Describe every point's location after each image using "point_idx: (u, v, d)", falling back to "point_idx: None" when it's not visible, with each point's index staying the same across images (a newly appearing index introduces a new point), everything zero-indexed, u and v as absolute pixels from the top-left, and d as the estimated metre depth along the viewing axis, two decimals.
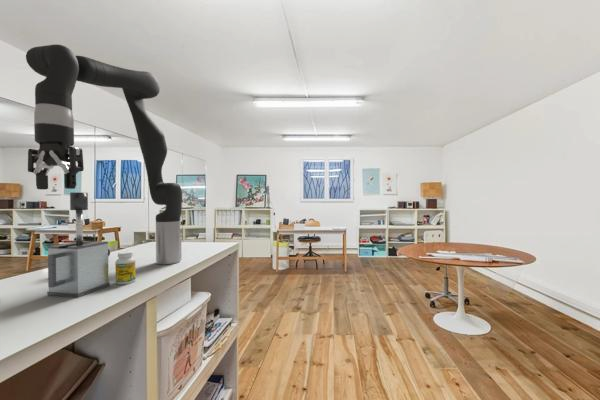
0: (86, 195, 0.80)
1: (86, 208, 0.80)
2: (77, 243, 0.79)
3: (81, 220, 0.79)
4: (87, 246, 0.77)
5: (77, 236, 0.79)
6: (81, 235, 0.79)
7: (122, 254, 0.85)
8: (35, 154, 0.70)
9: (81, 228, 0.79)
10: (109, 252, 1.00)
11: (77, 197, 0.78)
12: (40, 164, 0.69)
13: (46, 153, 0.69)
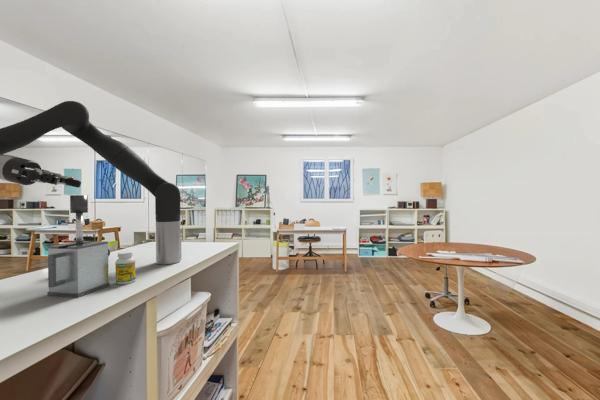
0: (86, 198, 0.80)
1: (86, 211, 0.80)
2: None
3: (81, 223, 0.79)
4: (87, 246, 0.77)
5: (77, 239, 0.79)
6: (81, 238, 0.79)
7: (122, 254, 0.85)
8: None
9: (81, 231, 0.79)
10: (109, 252, 1.00)
11: (77, 199, 0.78)
12: None
13: (39, 180, 0.82)
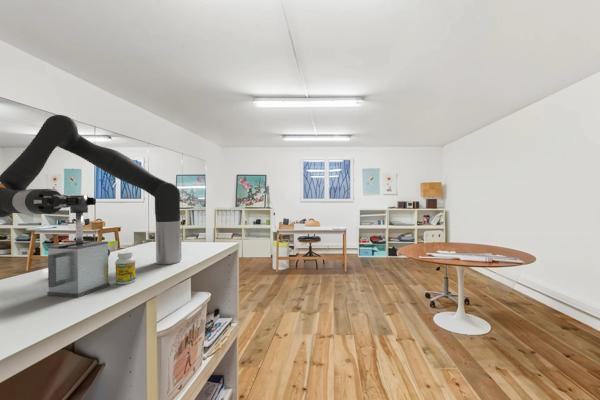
0: (86, 198, 0.80)
1: (86, 211, 0.80)
2: None
3: (81, 223, 0.79)
4: (87, 246, 0.77)
5: (77, 239, 0.79)
6: (81, 238, 0.79)
7: (122, 254, 0.85)
8: None
9: (81, 231, 0.79)
10: (109, 252, 1.00)
11: None
12: None
13: (60, 206, 0.81)
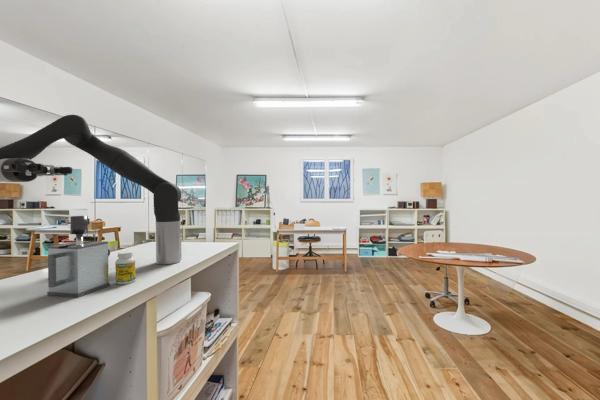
0: (86, 218, 0.80)
1: (86, 231, 0.80)
2: None
3: (81, 243, 0.79)
4: (87, 246, 0.77)
5: None
6: None
7: (122, 254, 0.85)
8: None
9: None
10: (109, 252, 1.00)
11: (77, 221, 0.78)
12: (49, 174, 0.88)
13: (36, 174, 0.86)
